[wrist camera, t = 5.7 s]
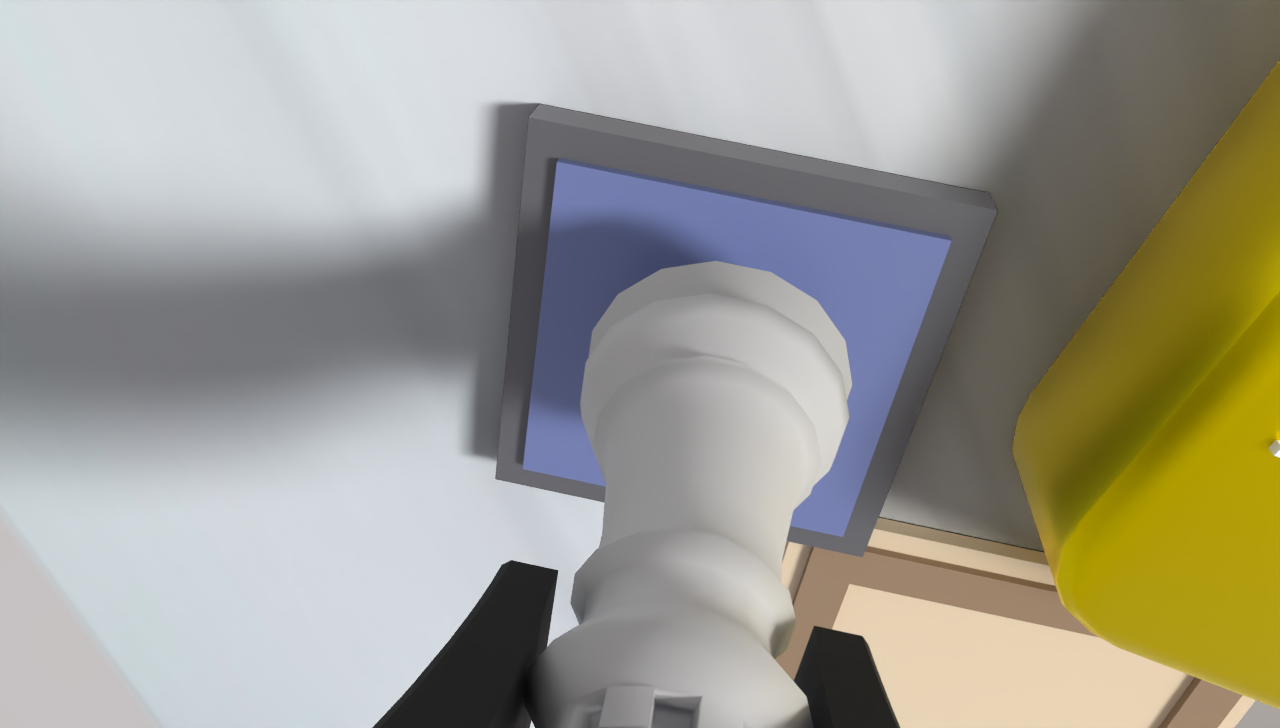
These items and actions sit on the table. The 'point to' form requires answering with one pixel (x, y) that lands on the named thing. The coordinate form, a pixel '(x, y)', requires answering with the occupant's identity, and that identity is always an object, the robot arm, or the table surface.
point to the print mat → (984, 639)
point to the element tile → (1176, 431)
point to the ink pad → (741, 235)
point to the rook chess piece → (696, 502)
